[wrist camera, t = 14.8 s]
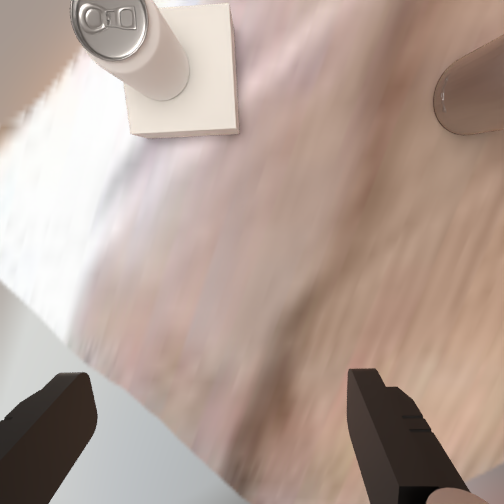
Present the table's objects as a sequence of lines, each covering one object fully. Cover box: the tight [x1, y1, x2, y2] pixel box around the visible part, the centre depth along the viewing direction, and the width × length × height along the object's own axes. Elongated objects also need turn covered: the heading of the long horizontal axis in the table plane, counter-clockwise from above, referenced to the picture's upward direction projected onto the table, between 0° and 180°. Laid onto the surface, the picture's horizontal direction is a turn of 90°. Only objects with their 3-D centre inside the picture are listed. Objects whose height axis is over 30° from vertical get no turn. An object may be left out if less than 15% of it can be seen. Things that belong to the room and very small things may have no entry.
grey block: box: [123, 3, 240, 139], centre depth 37 cm, size 12×12×6 cm
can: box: [70, 0, 189, 101], centre depth 28 cm, size 6×6×12 cm
